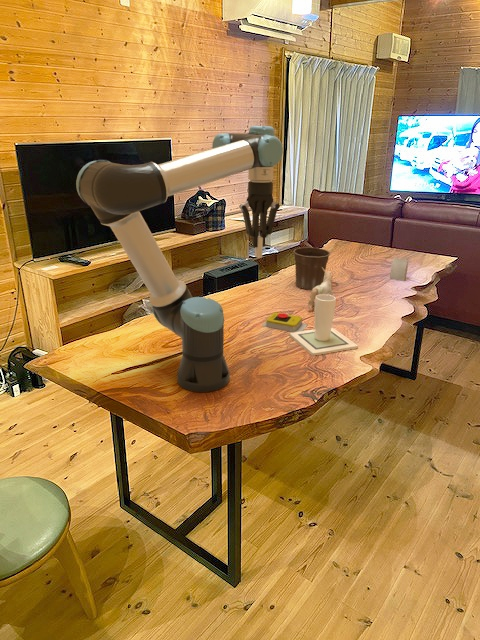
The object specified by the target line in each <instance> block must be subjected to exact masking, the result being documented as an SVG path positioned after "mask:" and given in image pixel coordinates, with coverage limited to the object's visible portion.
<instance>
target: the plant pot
mask: <svg viewBox="0 0 480 640" xmlns="http://www.w3.org/2000/svg"><path fill="white" fill-rule="evenodd" d="M293 254H294V261H295V286H296V288H299V289H303V290H309V291H312V289H313V288H315V287H316V286H318V285H321V283H323V282H324V281H323V279H324V277H325V272H324V271H323V269H324V270H326V269H327V263H328V261H329V257H330V255H331V252H330V251H329V250H327V249H324V248H320V247H313V246H312V247H310V246H309V247H298V248H295V249H294V250H293ZM322 267H323V269H322Z"/></svg>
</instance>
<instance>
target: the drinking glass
mask: <svg viewBox="0 0 480 640" xmlns="http://www.w3.org/2000/svg"><path fill="white" fill-rule="evenodd" d="M336 300H337V298H336V297H335V295H333V296H332V295H330V294H329V293H327V294H320V295H316V297H315V300H314V302H315V306H314V307H313V308H314V309H313V310H314V311H313V313H314V317H313V318H314V329H315V333H314V337H315V339H316V340H319V341H327V340H329V339H330V333H331V328H333V323H334V316H335V313H336V312H335V311H336V302H337V301H336Z"/></svg>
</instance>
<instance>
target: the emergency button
mask: <svg viewBox="0 0 480 640" xmlns="http://www.w3.org/2000/svg"><path fill="white" fill-rule="evenodd" d="M261 327H263V328H268V329H274V330H279V331H283V330H284V332H289V333H293V332H300V331H305V329H306V328H307V327H308V324H307V323H303V317H302V316H300V315H294V314H292V315H291V314H288V313H282V312H273V313H272V314H271V315H270V316H268V318H266V320H265V322H264V323H263V324H262V326H261Z"/></svg>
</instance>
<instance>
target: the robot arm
mask: <svg viewBox="0 0 480 640" xmlns="http://www.w3.org/2000/svg"><path fill="white" fill-rule="evenodd" d="M211 145H212V146H211V147H212V148H210V149H207V150H204V151H200V152H197V153H193V154H189V155H187V156H183V157H180V158H176V159H173V160H170V161H169V160H168V161H166V162H163V163H159V164H157V163H156V162H153V161H150V162H149V161H148V162H145V163H142V164H132V165H131V164H120V163H115V162H111V161H109V160H107V159H98V160H93V161H89V162H88V163H86V164H85V165H83V166H82V168H81V169H80V170H79V172H78V174H77V177H76V181H75V182H76V183H75V185H76V191H77V194H78V196H79V197H80V199H81V200H82V201H83V202H84V203H85V204H86V205H88V206H89V207H90V208H91V210H92V211H93V213H94V215H95V216H96V217H97V219H98V221H99V222H100V224H101V225H103V226H107V227H109V228H110V229H111V231H112V232H113V234H114V235H115V238H116V239H117V240H118V243H119V245H121V247H122V249H123V250H124V252H125V254H126V255H127V256H128V259H129V260H130V262H131V263H132V265H133V267H134V268H135V270H136V272H137V274H138V275H139V276H140V279H141V280H142V281H143V283H144V285H145V287H146V288H147V290H148V292H149V294H150V296H149V303H150V305H151V308H152V309H151V310H152V314H153V316H154V318H155V319H156V321H157V322H158V323H159V324H160V325H161V326H163V327H164V328H167V329H168V330H169V331H171V332H172V333H173V334H175V335H176V336H178V337H180V339H181V345H182V346H181V348H182V349H181V350H182V356H181V359H180V363H179V365H178V369H177V372H176V379H177V384H178V385H179V386H180V387H181V388H183V389H184V390H187V391H191V392H195V393H210V392H215V391H218V390H220V389H222V388H224V387H225V386H227V385H228V384H229V382H230V369H229V366H228V364H227V361H226V358H225V354H224V336H225V335H224V334H225V333H224V331H225V330H224V329H225V328H224V326H225V317H224V316H225V315H224V309H223V307H222V305H221V303H220V302H218V301H216V299H215V300H214V299H212V298H210V297H209V298H206V297H204V296H194V297H193V295H192V294H191V292H190V289H189V288H188V286H187V285H186V283H185V281H183V280H180V279H178V278H177V277H176V275H175V274H174V271H173V270H172V267H171V266H170V264H169V262H168V260H167V259H166V257H165V255H164V253H163V252H162V250H161V248H160V246H159V244H158V243H157V241H156V239H155V237H154V235H153V233H152V232H151V230H150V228H149V226H148V223H147V222H146V221H145V219H144V217H143V215H142V213H141V211H143V210H147V209H150V208H153V207H155V206H158V205H161V204H165V203H166V202H167V199H169V198H168V197H171V196H175V195H176V194H180V193H183V192H185V191H190V190H192V189H195V188H197V187H200V186H203V185H207V184H210V183H213V182H215V181H216V182H217V181H218V180H223V179H224V178H228V177H231V176H233V175H237V174H240V173H243V172H245V171H248V172H247V173H248V175H247V176H248V177H247V178H248V180H249V181H248V182H247V185H248V186H247V198H246V201H245V202H244V203H243V204H240V205H239V208H240V211H241V212H242V216H243V221H244V226H245V230H246V234H247V235H249V236H251V237H252V242H251V243H252V247H253V248H254V257H255V258H257V259H261V258H263V247H265V246H266V238H267V237H268V235H269V236H270V235H271V234H272V232H273V228H274V224H275V220H276V217H277V212H278V210H279V209H280V207H281V204H280V203H278V202H276V201H274V197H273V189H274V187H273V186H274V182H273V180H274V167H275V166H277V165H278V164H279V162H281V160H282V157H283V154H284V148H283V144H282V142H281V140H280V139H279V137H277V136H276V133H275V128H274V127H273V126H269V125H251V126H249V131H248V132H247V133H240V132H239V133H236V132H235V133H234V132H233V133H232V132H231V133H229V132H225V133H218V134H216V135H215V136H214V138H213V140H212V144H211ZM249 208H250V209H251V215H252V218H251V215H250V211H249ZM268 211H269V212H268ZM251 219H252V220H251Z"/></svg>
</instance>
